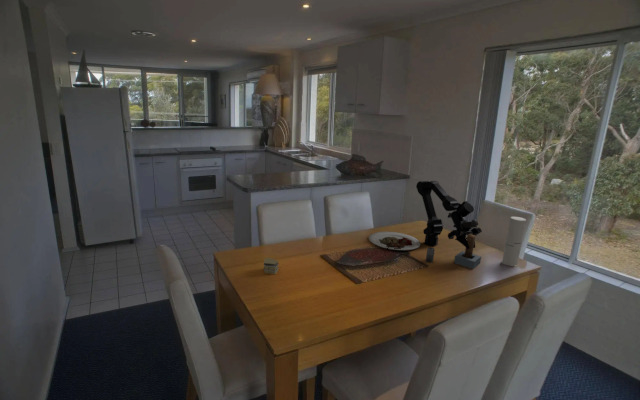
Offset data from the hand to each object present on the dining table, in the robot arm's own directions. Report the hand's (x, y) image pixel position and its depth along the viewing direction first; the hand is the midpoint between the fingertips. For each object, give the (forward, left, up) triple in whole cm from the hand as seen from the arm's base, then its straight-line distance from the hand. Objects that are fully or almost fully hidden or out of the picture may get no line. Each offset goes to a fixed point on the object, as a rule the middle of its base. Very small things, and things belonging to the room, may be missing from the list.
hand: (471, 248), depth 187 cm
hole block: (-1, +1, -9) cm, 9 cm away
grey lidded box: (-62, -82, -9) cm, 103 cm away
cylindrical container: (+15, +19, -9) cm, 25 cm away
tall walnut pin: (-1, +1, -7) cm, 7 cm away
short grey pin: (-16, -12, -9) cm, 22 cm away
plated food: (-43, -2, -9) cm, 44 cm away
